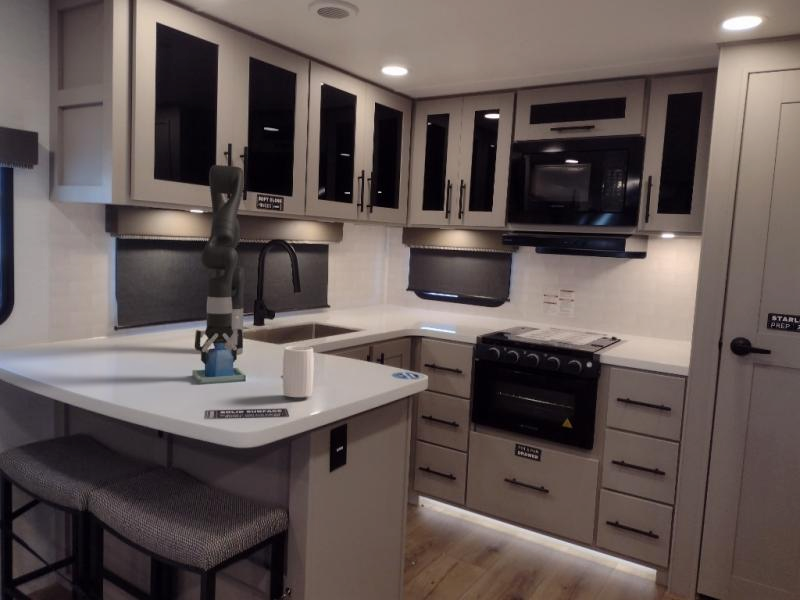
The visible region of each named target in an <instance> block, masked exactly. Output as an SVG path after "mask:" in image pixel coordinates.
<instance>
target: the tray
mask: <svg viewBox="0 0 800 600" xmlns="http://www.w3.org/2000/svg"><path fill="white" fill-rule="evenodd" d="M191 376H192V377H193V379H194V380H195V382H196V384H198V385H199V386H200V385H210V384H211V385H213V384H224V383H238V382H240V383H241V382H247V381H246V380H247V379H246V378H247V377H246V374H245V373H244V372H243V371H241V369H239V368H238V367H233V376H222V377H206V376H205V369H194V370H192V375H191Z"/></svg>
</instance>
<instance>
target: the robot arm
mask: <svg viewBox="0 0 800 600" xmlns="http://www.w3.org/2000/svg"><path fill="white" fill-rule="evenodd" d="M208 182H209V192H210V199H211V208H212V209H211V210H212V222H211V229H210V235H209V238H208V239H207V240H208V241H207V243H206V244H205V246H204V248H203V250H202V252H201V263H202V265H203V267H204V268H205V269H207V270H213V271H214V273H213V274H214V275H213V276H212V277H210V278H208V280H207V300H206V329H205V330H200V329H196V330H195V335H194V336H195V337H194V349H195V350H196V351H199V352H200V361H201V362H202V363H203V364H204V365H205V364H207V353H208V351H207V350H209V347H211V345H214V344H215V343H217V341H216V339H224V340H223V343H225V346H224V348H225V349H229V351H230V353H231V354H232V356H233V363H235V361H237V359H238V357H237V356H238V355H240V354H243V351H244V350H243V349H244V291H245V290H244V289H245V269H244V268H243V266H241V265H240V266H239V265H237V263H238V258H239V256H238V252H237V250H236V248H237V246H238V245H239V243H240V241H241V240H240V239H241V230H240V229H241V227H240V226H241V225H240V222H239V220H238V218H237V216H238V212H239V209H240V206H241V205H240V204H241V200H242V198H243V197H242V196H243V192H244V187H245V172H244V169H243V168H242V167H239V166H234V165H221V164H220V165H219V164H215V165H212V166H211V167H210V169H209V174H208ZM223 195H230V197H229V198H228V200H227V201H226V202H225V199H224V197H223ZM232 291H234V293H233V294H232ZM204 335H205V336H206V337H207V339H205V342H204V343H203V345H202V346H201V339H202V338H203V337H204Z"/></svg>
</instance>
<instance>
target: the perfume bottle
mask: <svg viewBox="0 0 800 600" xmlns="http://www.w3.org/2000/svg"><path fill="white" fill-rule="evenodd" d="M223 340H224V339H216V341H217V343H215V344H214V343H213V347H214V348H210V349H208V351H207V364H204V370H205V376H206V377H222V376H233V368H234V362H233V356H232V354H231V353H230V351H229V349H225V348H224V346H225V343H223Z"/></svg>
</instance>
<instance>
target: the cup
mask: <svg viewBox="0 0 800 600" xmlns="http://www.w3.org/2000/svg"><path fill="white" fill-rule="evenodd" d="M283 349H284V350H283V357H282V390H283V395H284V396H285V397H286V396H287V397H290V398H305V397H310V396H311V395H313V388H314V387H313V386H314V371H315V370H314V367H315V366H314V363H315V362H314V361H315V360H314V348H313V347H311V346H307V345H289V346H286V347H284V348H283Z"/></svg>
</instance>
